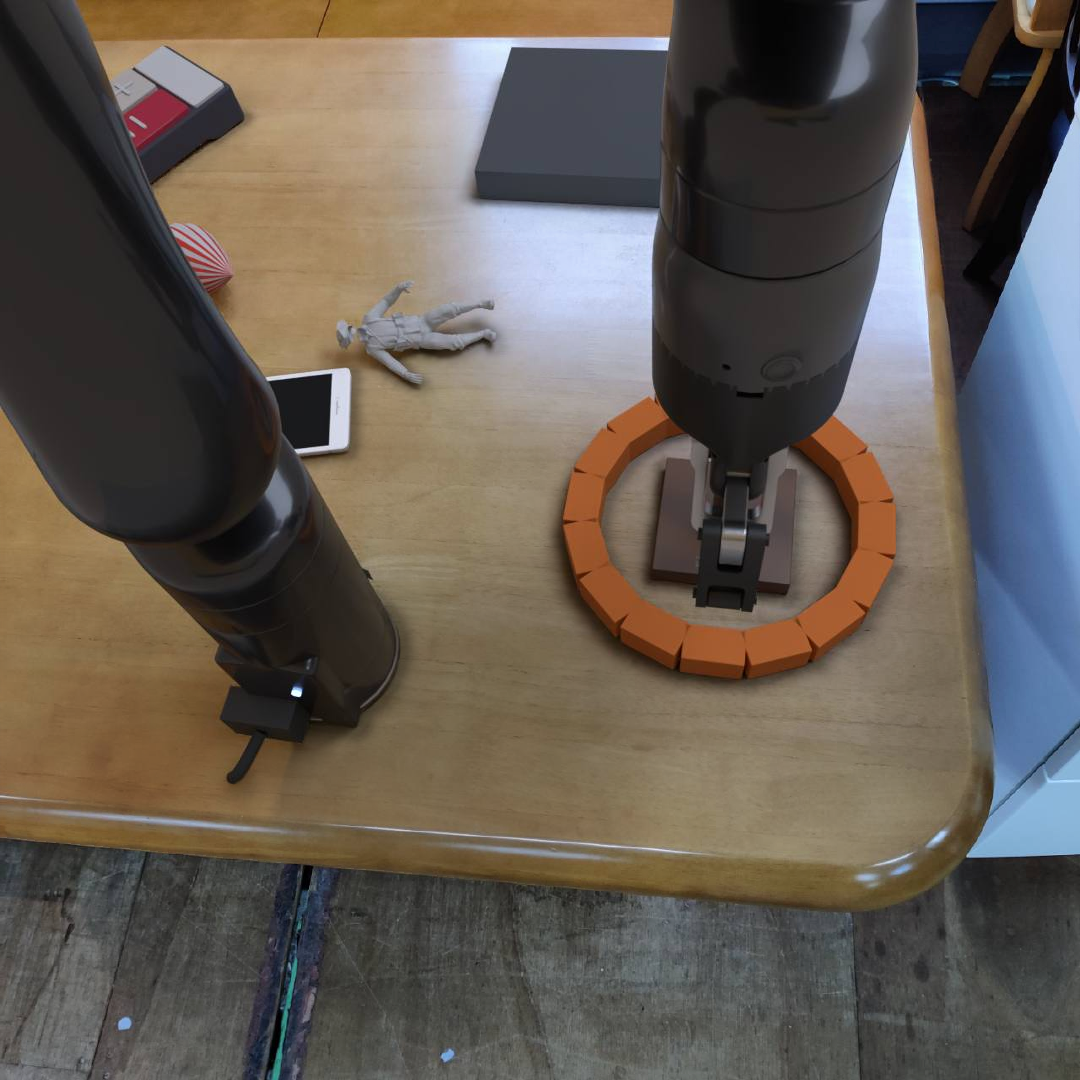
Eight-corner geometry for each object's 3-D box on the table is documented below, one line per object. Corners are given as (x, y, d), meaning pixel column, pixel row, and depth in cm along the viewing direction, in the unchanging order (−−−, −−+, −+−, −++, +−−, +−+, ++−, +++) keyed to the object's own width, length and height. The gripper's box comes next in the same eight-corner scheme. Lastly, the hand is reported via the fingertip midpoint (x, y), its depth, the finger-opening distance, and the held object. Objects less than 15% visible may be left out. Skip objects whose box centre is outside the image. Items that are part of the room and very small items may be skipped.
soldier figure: (500, 378, 75) (348, 389, 71) (482, 375, 80) (338, 385, 76) (495, 277, 74) (338, 282, 70) (476, 279, 78) (329, 284, 74)
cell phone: (155, 395, 76) (152, 390, 76) (352, 371, 76) (350, 366, 75) (143, 476, 73) (139, 471, 72) (349, 452, 72) (347, 447, 71)
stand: (671, 208, 81) (672, 179, 79) (479, 198, 84) (474, 170, 82) (691, 80, 89) (692, 50, 87) (515, 75, 92) (511, 46, 90)
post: (787, 594, 63) (820, 486, 51) (651, 579, 65) (653, 470, 53) (794, 480, 67) (826, 356, 55) (666, 468, 69) (671, 345, 57)
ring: (887, 698, 59) (896, 685, 57) (543, 654, 63) (539, 639, 61) (888, 415, 69) (896, 395, 67) (591, 391, 73) (590, 371, 71)
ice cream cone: (135, 270, 90) (270, 308, 80) (70, 277, 86) (204, 319, 75) (126, 201, 87) (265, 231, 77) (59, 205, 83) (196, 238, 72)
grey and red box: (37, 126, 89) (161, 36, 93) (63, 162, 93) (181, 75, 97) (101, 174, 85) (228, 78, 89) (126, 210, 89) (247, 117, 93)
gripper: (670, 157, 38) (666, 403, 52) (629, 457, 31) (637, 644, 45) (867, 162, 37) (807, 412, 51) (866, 474, 30) (798, 661, 44)
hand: (727, 521), depth 48 cm, fingers open, 8 cm apart
